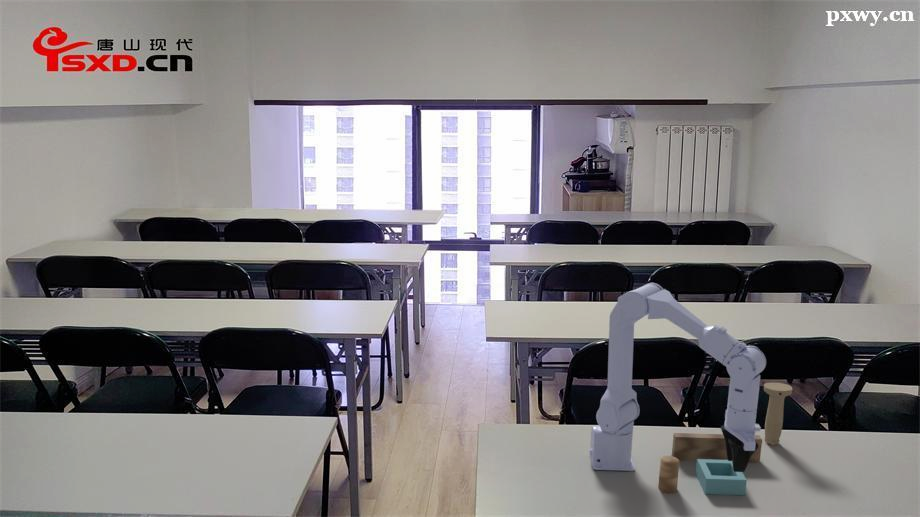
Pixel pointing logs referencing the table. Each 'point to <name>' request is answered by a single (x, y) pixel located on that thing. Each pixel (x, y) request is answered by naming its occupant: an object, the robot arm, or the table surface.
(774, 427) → the handle
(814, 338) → the table surface
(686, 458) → the wall
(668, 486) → the dowel
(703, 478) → the socket block
